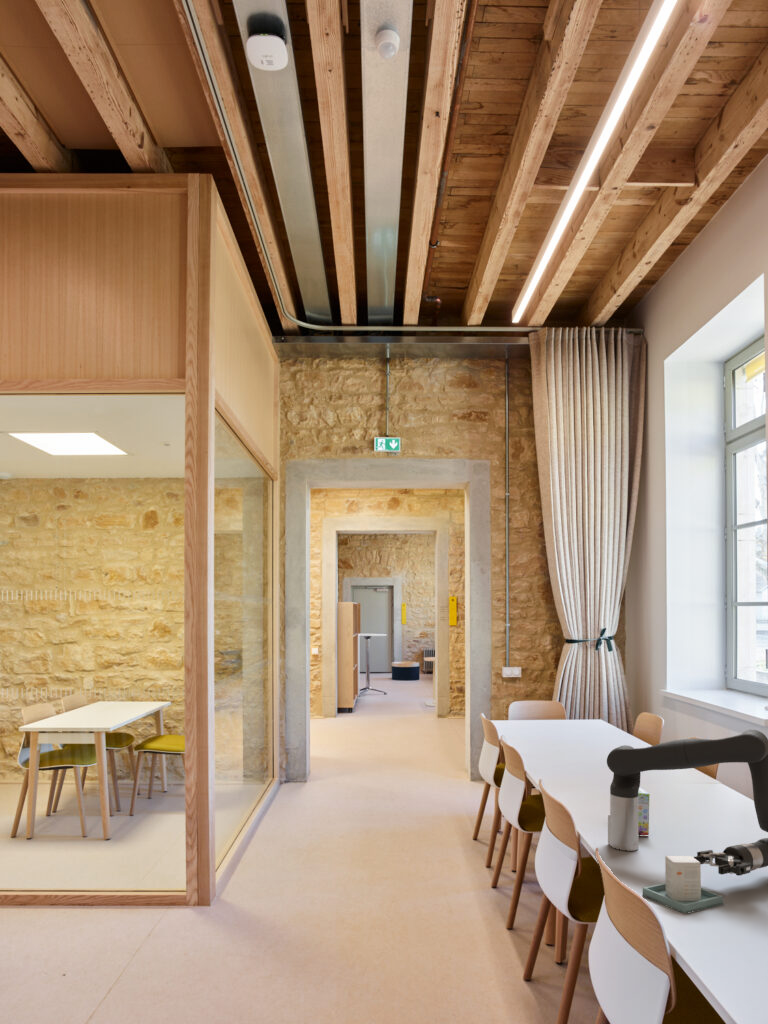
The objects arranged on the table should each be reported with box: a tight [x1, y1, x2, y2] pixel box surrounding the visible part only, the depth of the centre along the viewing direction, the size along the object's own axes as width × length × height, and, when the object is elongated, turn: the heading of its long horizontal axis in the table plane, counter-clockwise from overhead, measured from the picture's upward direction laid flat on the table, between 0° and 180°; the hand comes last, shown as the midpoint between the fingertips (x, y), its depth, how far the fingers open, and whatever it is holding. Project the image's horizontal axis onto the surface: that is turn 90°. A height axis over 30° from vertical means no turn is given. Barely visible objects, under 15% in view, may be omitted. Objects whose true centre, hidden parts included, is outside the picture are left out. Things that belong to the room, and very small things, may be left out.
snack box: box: [638, 786, 650, 835], centre depth 296 cm, size 21×6×15 cm, turn 179°
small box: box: [664, 855, 702, 901], centre depth 225 cm, size 8×6×10 cm
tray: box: [642, 882, 724, 914], centre depth 225 cm, size 15×16×2 cm
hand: (706, 865), depth 230 cm, fingers open, 8 cm apart
